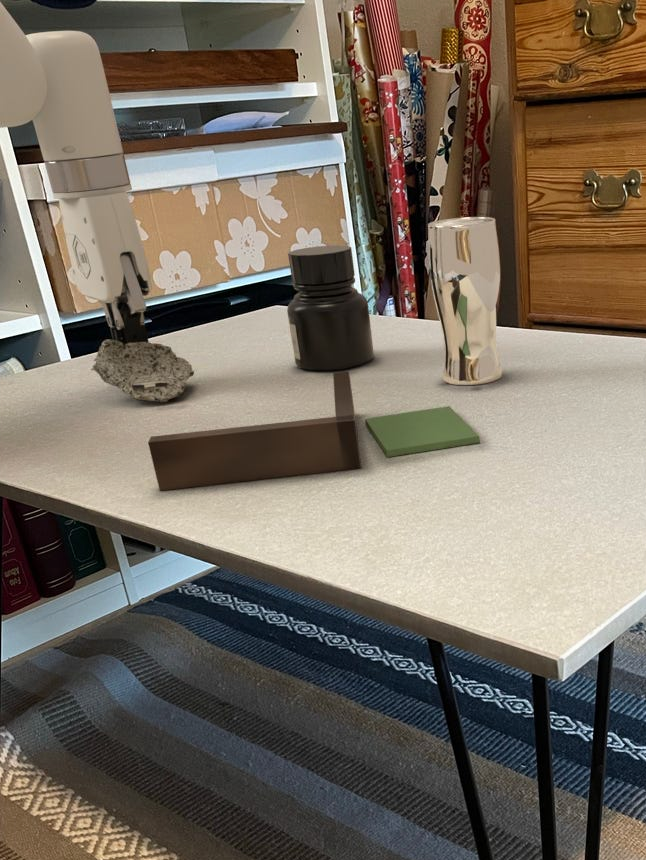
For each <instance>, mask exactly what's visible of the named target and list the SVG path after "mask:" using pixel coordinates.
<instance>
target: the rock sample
mask: <svg viewBox="0 0 646 860" xmlns="http://www.w3.org/2000/svg"><path fill="white" fill-rule="evenodd" d="M121 339H122V338H121ZM176 354H177V353H175V352H173V349H172V347H171V346H168V345H164V344H162V343H155V342H154V343H153V342H149V343H148V342H136V343H131V342H130V343H128V344H125V343H122V342H120V341H117V340H113V339H107V338H106V339H105V340H103V341H102V343H101V346H99V348H98V351H97V354H96V357H95V358H94V360H93V362H94V364H93V365H92V368H90V371H92V372H96V373H97V375H98V376H99V377H100V379H101V380H102V381H103V382H104V383H106V384H108V385H110V386H113V387H117V388H118V389H120V391H119V392H120V393H121V392H122V393H123V394H125V395H126V396H130V397H131V398H133V399H136V400H140V401H148V402H159V403H167V402H168V401H169V400H170V399H171V400H172V399H174V398H176V397H179V396H181V394H182V393H184V391H185V389H186V385H187V383H186V382H187V381H188V380H189V379H190V377H191V378H192V377H193V376H194V374H195V371H196V370H195V369H194V370H193V368H192V366H193V365H192V364H190V361H188V360H186V359H185V358H184V357H181V356H177V355H176ZM197 359H198V357H197Z"/></svg>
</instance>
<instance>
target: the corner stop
mask: <svg viewBox="0 0 646 860" xmlns="http://www.w3.org/2000/svg"><path fill="white" fill-rule="evenodd" d="M350 373H351V372H350V371H349V370H348V371H340V372H339V371H338V372H333V373H332V376H333V377H332V378H333V391H334V392H333V394H334V397H333V398H334V414H335V416H330V417H329V416H328V417H319V418H313V419H312V418H311V419H301V420H294V421H293V420H291V421H283V422H273V423H264V424H254V425H245V426H236V427H226V428H217V429H209V430H200V431H198V430H197V431H190V432H180V433H171V434H165V435H164V434H162V435H153V436H150V438H149V439H148V441H147V444H148V448H149V452H150V457H151V461H152V465H153V469H154V474H155V477H156V481H157V485H158V489H159V492H160V491H169V490H180V489H187V488H196V487H197V488H198V487H205V486H215V485H222V484H223V485H224V484H232V483H241V482H249V481H250V482H251V481H258V480H267V479H268V480H269V479H276V478H284V477H295V476H303V475H312V474H321V473H329V472H337V471H346V470H347V471H348V470H356V469H362V462H361V454H360V446H359V438H358V428H357V420H356V413H355V403H354V399H353V398H354V397H353V396H354V395H353V390H352V389H353V388H352V382H351V375H350Z"/></svg>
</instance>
